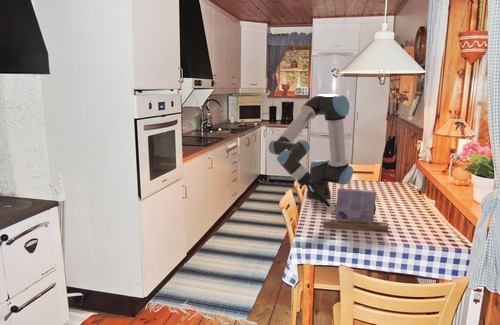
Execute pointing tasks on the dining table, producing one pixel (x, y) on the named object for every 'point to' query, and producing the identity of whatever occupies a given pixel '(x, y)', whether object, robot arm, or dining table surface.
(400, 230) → the dining table surface
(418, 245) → the dining table surface
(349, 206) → the cake pan box
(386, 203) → the dining table surface
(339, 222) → the walnut board
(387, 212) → the dining table surface
